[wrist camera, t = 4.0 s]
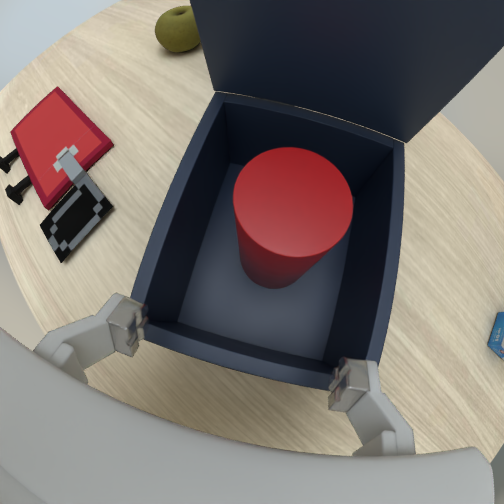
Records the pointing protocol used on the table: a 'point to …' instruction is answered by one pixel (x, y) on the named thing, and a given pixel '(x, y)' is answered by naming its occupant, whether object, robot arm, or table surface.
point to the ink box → (498, 336)
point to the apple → (177, 29)
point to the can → (288, 214)
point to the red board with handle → (60, 168)
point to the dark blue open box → (228, 257)
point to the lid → (351, 54)
